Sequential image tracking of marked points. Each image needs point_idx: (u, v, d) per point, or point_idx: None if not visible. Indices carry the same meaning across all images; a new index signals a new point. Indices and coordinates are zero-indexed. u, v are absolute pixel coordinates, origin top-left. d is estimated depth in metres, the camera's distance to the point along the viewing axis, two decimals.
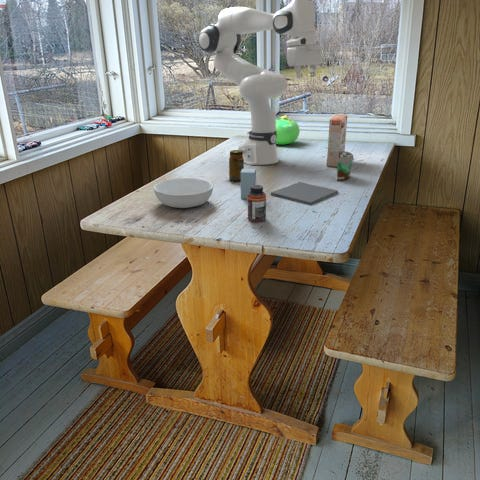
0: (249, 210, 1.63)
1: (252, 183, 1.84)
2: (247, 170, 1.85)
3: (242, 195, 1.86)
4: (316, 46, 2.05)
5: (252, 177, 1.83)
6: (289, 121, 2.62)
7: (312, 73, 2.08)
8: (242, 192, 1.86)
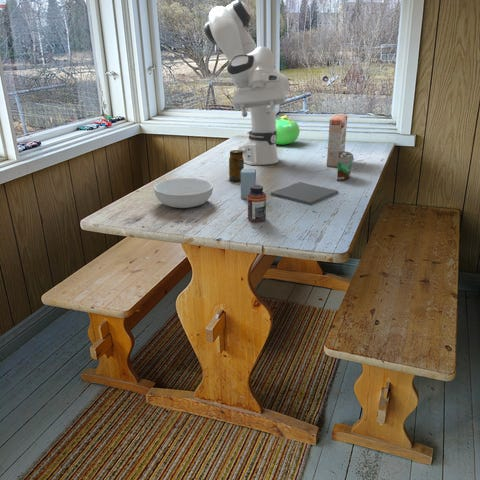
0: (249, 210, 1.63)
1: (252, 183, 1.84)
2: (247, 170, 1.85)
3: (242, 195, 1.86)
4: None
5: (252, 177, 1.83)
6: (289, 121, 2.62)
7: (246, 113, 1.90)
8: (242, 192, 1.86)
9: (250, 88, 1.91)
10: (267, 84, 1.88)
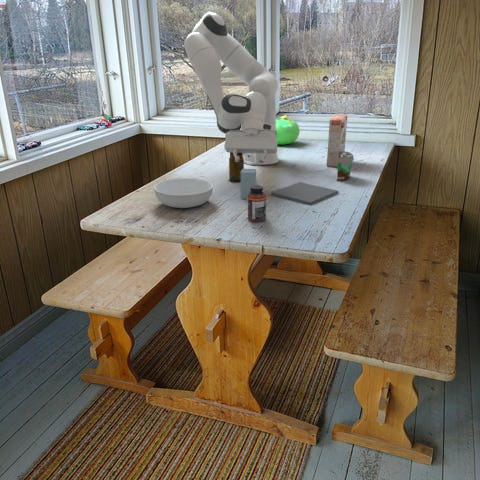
0: (249, 210, 1.63)
1: (252, 183, 1.84)
2: (247, 170, 1.85)
3: (242, 195, 1.86)
4: None
5: (252, 177, 1.83)
6: (289, 121, 2.62)
7: (239, 158, 1.92)
8: (242, 192, 1.86)
9: (243, 134, 1.93)
10: (261, 132, 1.92)
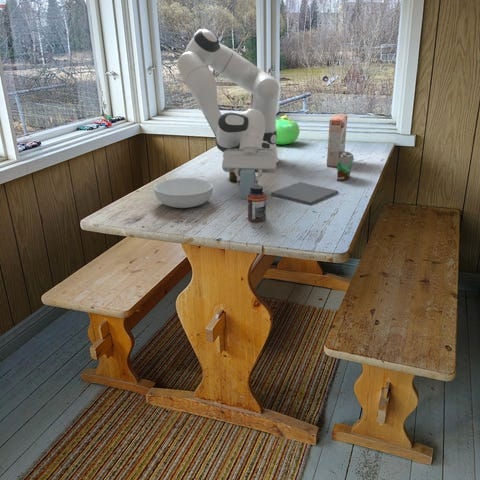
0: (249, 210, 1.63)
1: (252, 183, 1.84)
2: (246, 170, 1.85)
3: (242, 195, 1.86)
4: None
5: (251, 177, 1.83)
6: (289, 121, 2.62)
7: None
8: (242, 192, 1.86)
9: (241, 152, 1.88)
10: (260, 151, 1.86)
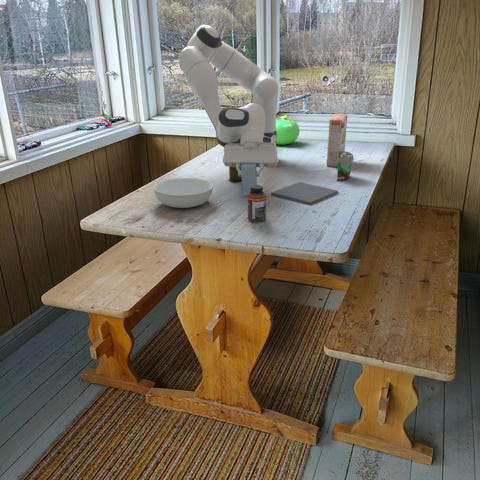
0: (249, 210, 1.63)
1: (253, 177, 1.83)
2: (248, 164, 1.84)
3: (243, 189, 1.85)
4: None
5: (253, 171, 1.82)
6: (289, 121, 2.62)
7: None
8: (243, 186, 1.85)
9: (242, 147, 1.88)
10: (261, 146, 1.86)
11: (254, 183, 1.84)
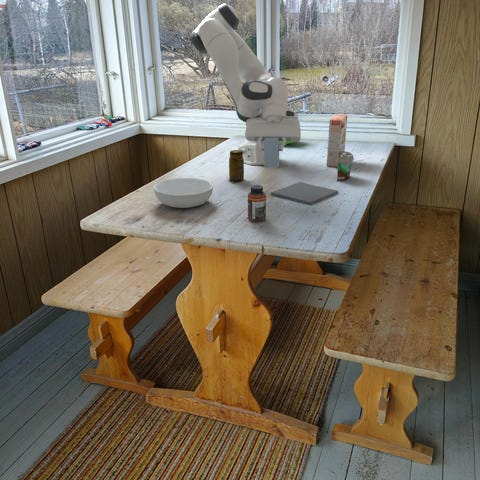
0: (249, 210, 1.63)
1: (276, 151, 1.80)
2: (270, 138, 1.81)
3: (266, 164, 1.82)
4: None
5: (276, 144, 1.79)
6: None
7: None
8: (266, 161, 1.82)
9: (265, 121, 1.85)
10: (284, 119, 1.83)
11: (277, 157, 1.81)
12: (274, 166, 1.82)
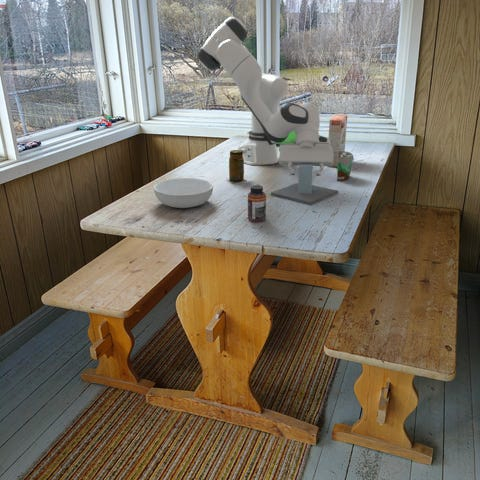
0: (249, 210, 1.63)
1: (310, 178, 1.85)
2: (305, 165, 1.86)
3: (299, 190, 1.88)
4: None
5: (310, 172, 1.84)
6: None
7: None
8: (299, 187, 1.87)
9: (298, 146, 1.90)
10: (317, 145, 1.88)
11: (310, 184, 1.86)
12: (307, 192, 1.88)
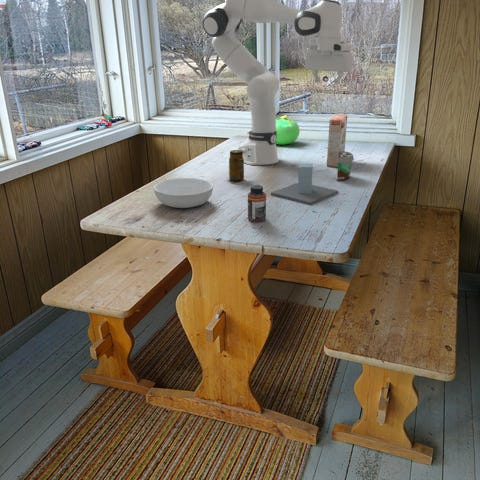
0: (249, 210, 1.63)
1: (310, 178, 1.85)
2: (305, 165, 1.86)
3: (299, 190, 1.88)
4: None
5: (310, 172, 1.84)
6: (289, 121, 2.62)
7: (319, 79, 2.04)
8: (299, 187, 1.87)
9: (319, 53, 1.98)
10: (333, 53, 1.93)
11: (310, 184, 1.86)
12: (307, 192, 1.88)
